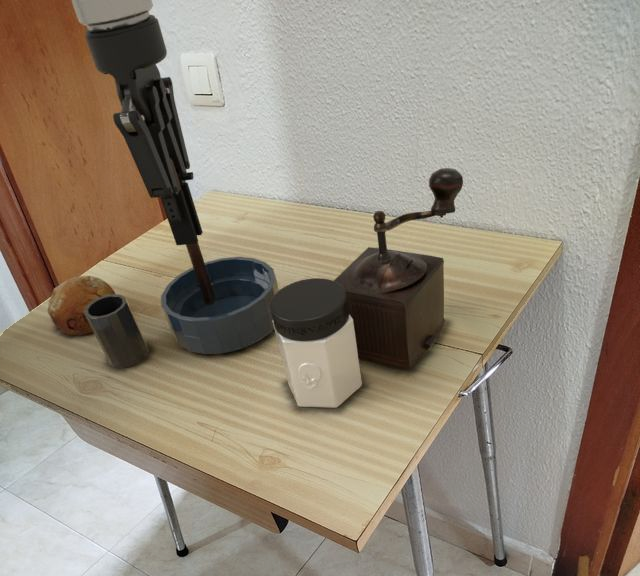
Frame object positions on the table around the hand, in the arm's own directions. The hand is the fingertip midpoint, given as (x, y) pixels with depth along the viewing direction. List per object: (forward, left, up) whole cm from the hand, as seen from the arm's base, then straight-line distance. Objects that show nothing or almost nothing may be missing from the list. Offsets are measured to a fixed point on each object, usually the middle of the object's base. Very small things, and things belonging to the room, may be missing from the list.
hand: (189, 238), depth 75 cm
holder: (-11, -8, -12) cm, 18 cm away
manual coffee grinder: (+26, -5, -12) cm, 30 cm away
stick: (0, 0, -10) cm, 10 cm away
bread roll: (-21, +2, -12) cm, 24 cm away
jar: (+17, -16, -12) cm, 27 cm away
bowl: (+2, -2, -12) cm, 13 cm away
